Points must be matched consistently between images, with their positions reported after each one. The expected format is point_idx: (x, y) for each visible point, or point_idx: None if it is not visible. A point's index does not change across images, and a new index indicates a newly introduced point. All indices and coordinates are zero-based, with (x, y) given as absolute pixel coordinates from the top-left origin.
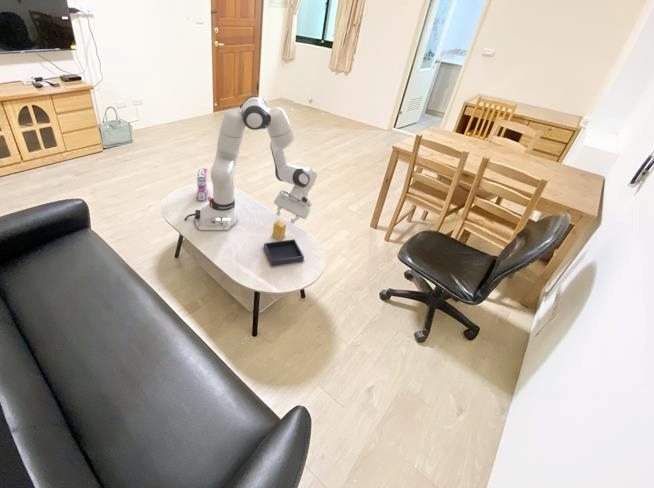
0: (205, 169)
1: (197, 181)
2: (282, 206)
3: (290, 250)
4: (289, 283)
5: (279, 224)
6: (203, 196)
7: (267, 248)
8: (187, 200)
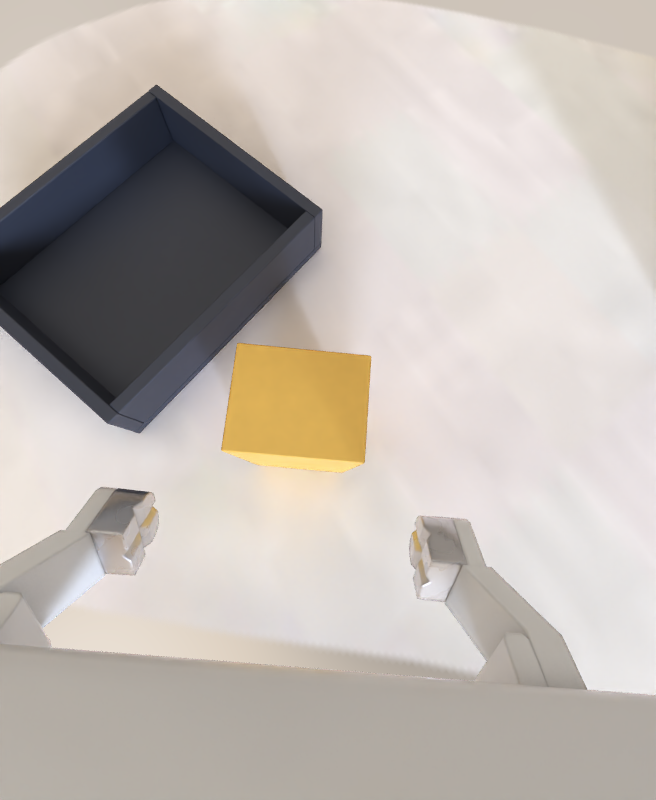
0: None
1: None
2: (479, 708)
3: (123, 336)
4: (7, 87)
5: (296, 380)
6: None
7: (264, 174)
8: None
